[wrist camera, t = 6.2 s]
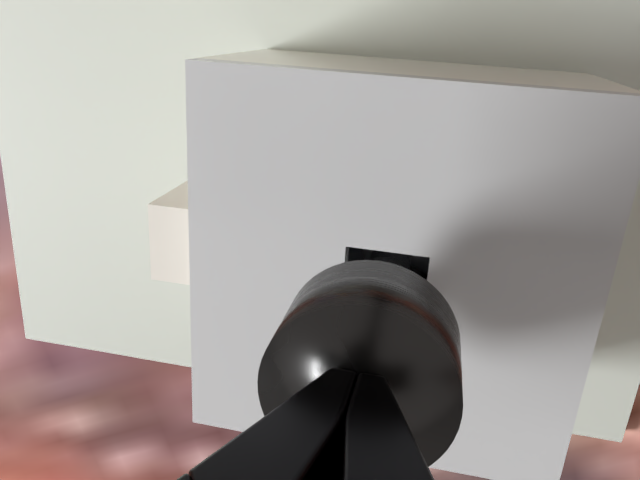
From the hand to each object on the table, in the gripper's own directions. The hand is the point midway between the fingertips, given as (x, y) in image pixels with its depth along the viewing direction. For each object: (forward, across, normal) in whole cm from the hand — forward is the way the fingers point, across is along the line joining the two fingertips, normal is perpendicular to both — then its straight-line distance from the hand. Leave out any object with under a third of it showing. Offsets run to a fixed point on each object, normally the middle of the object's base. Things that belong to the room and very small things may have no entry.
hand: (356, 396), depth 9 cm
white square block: (+10, 0, 0) cm, 10 cm away
